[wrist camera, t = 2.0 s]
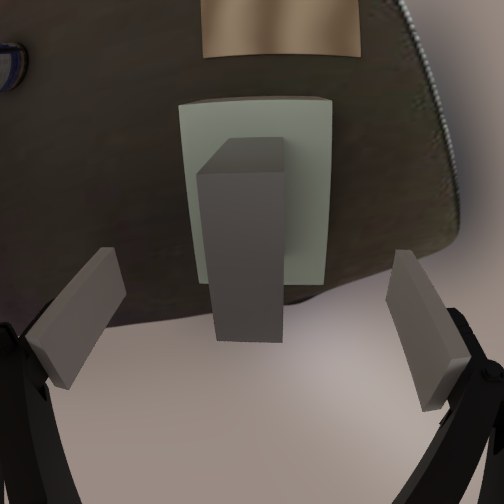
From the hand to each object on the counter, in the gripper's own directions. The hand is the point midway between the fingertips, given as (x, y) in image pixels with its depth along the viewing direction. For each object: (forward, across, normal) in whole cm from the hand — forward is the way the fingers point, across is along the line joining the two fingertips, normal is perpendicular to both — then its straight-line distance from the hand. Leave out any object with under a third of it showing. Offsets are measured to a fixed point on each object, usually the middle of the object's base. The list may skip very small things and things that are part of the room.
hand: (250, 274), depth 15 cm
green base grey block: (+10, 0, 0) cm, 10 cm away
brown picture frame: (+18, +2, +20) cm, 27 cm away
